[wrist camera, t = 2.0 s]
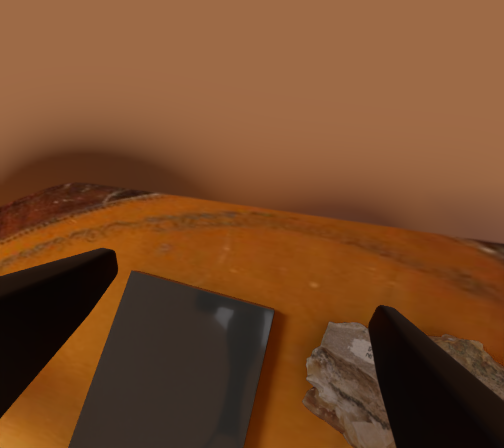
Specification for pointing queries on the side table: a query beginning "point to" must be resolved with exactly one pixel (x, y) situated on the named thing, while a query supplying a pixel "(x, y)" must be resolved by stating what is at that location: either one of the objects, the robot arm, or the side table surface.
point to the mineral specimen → (373, 382)
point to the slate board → (175, 369)
